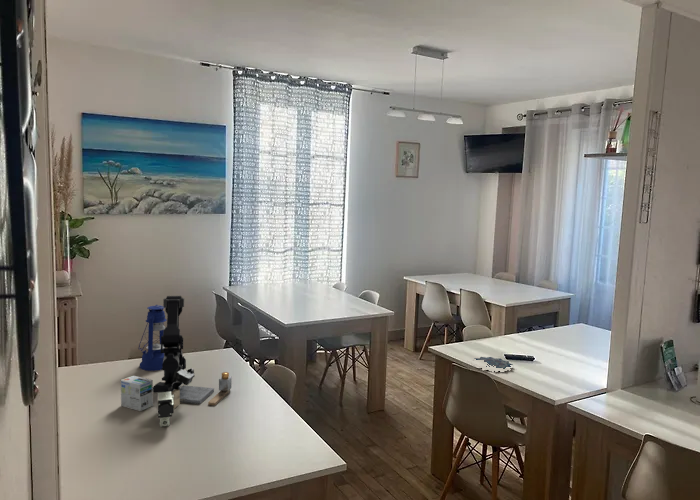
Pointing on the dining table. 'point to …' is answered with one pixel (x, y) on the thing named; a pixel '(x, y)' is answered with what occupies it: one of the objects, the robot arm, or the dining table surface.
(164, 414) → the pneumatic valve
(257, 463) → the dining table surface
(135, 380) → the light bulb box
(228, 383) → the grey and brass block
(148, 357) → the lantern
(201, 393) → the press bed
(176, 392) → the housing block
